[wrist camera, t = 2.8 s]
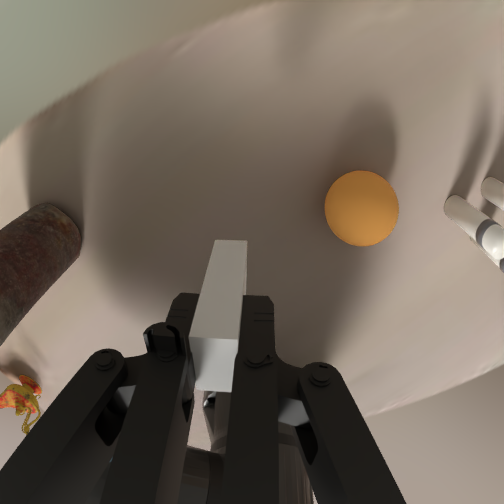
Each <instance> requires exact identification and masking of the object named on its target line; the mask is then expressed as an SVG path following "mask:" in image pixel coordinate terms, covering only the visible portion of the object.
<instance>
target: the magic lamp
mask: <svg viewBox="0 0 504 504" xmlns="http://www.w3.org/2000/svg"><path fill="white" fill-rule="evenodd" d="M19 380H20V382H21V383H22V386H21V385H17V384H11V385H9V386H8V387H7V388H6V389H5V391H4V392H3V393H2V394H1V395H0V408H5V407H13V408H16V415H17V416H19V415H23V414H24V413H23V414H20V413H22V412H25V411H26V412H28V413H29V414H27V416H28V417H27V416H26V419H27V420H26V419H25V421H26V422H25V421H24V423H25V424H24V423H23V425H22V431H23V426H25V427H24V431H23V432H24V433H26V435H27V434H28V433H29V426H31V425H32V424H33V423H34V422H36V421H37V420H38V418H39V417H40V410H39V405H38V401H37V399H36V397H37V396H40V395H36V396H34V395H33V394H32V393H35V394H41V393H42V390H41V388H40V386H39V385H38V384H37V383H36V382H35V381H34V380H32V379H31V378H29V377H27V376H25V375H20V376H19ZM39 398H40V397H39ZM37 411H38V412H39V415H38V417H37V418H36V419H35V420H34V421H32V422H31V423H30V424H27V421H28V419H29V417H30V414H31V413H36V412H37ZM26 425H27V426H26Z"/></svg>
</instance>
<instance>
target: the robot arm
mask: <svg viewBox="0 0 504 504" xmlns="http://www.w3.org/2000/svg"><path fill="white" fill-rule="evenodd" d="M246 278H247V241H239V240H215V243H214V246H213V250H212V253H211V257H210V260H209V264H208V267H207V271H206V275H205V278H204V282H203V285H202V289H201V293H200V294H195V293H180V294H179V295H178V296H177V297H176V298H175V299H174V300H173V302H172V305H171V308H170V310H169V313H168V317H167V319H166V321H165V322H160V323H156V324H153V325H151V326H150V327H148V328H147V329H146V330H145V332H144V333H143V336H144V340H145V344H146V348H147V353H146V354H144V355H140V356H135V357H127V358H124V357H123V356H122V354H121V353H120V352H118V351H117V350H114V349H102V350H99V351H97V352H95V353H94V354H93V355H91V356H90V357H89V359H88V360H87V361H86V362H85V363H84V365H83V366H82V367H81V368H80V369H79V371H78V372H77V373H76V374H75V375H74V377H73V378H72V379H71V380H70V381H69V383H68V384H67V385H66V386H65V387H64V389H63V390H62V391H61V392H60V394H59V395H58V396H57V397H56V399H55V400H54V401H53V402H52V404H51V405H50V406H49V407H48V409H47V410H46V411H45V412H44V414H43V415H42V416H41V417H40V419H39V420H38V421H37V423H36V424H35V425H34V427H33V428H32V429H31V430H30V432H29V433H28V434H27V435H26V437H25V438H24V440H23V441H22V442H21V444H20V445H19V446H18V447H17V449H16V450H15V452H14V453H13V454H12V456H11V457H10V458H9V460H8V461H7V462H6V464H5V465H4V466H3V468H2V469H1V470H0V504H314V501H313V492H314V495H315V497H316V500H317V503H318V504H406V502H405V500H404V498H403V496H402V494H401V492H400V490H399V488H398V486H397V484H396V482H395V480H394V478H393V476H392V474H391V472H390V470H389V468H388V466H387V464H386V462H385V460H384V458H383V456H382V454H381V452H380V450H379V448H378V446H377V444H376V442H375V440H374V438H373V436H372V434H371V432H370V431H369V428H368V426H367V424H366V423H365V421H364V419H363V417H362V415H361V413H360V411H359V409H358V407H357V405H356V403H355V401H354V399H353V397H352V395H351V393H350V392H349V390H348V388H347V386H346V384H345V382H344V380H343V378H342V376H341V374H340V373H339V372H338V370H337V369H336V368H335V367H333V366H331V365H330V364H327V363H322V362H314V363H311V364H308V365H306V366H305V367H304V368H302V369H301V368H298V367H294V366H291V365H288V364H286V363H285V362H283V361H282V360H281V359H280V358H279V357H278V356H277V354H276V351H275V335H274V304H273V303H272V301H271V300H270V298H269V297H268V296H253V295H246ZM195 383H196V389H197V390H205V391H204V397H203V412H204V416H205V420H206V424H207V429H208V433H209V436H210V440H211V451H206V450H203V449H199V448H195V447H192V446H188V445H187V442H188V437H189V431H190V425H191V419H192V414H193V408H194V403H195V401H194V393H193V392H194V387H195Z"/></svg>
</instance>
